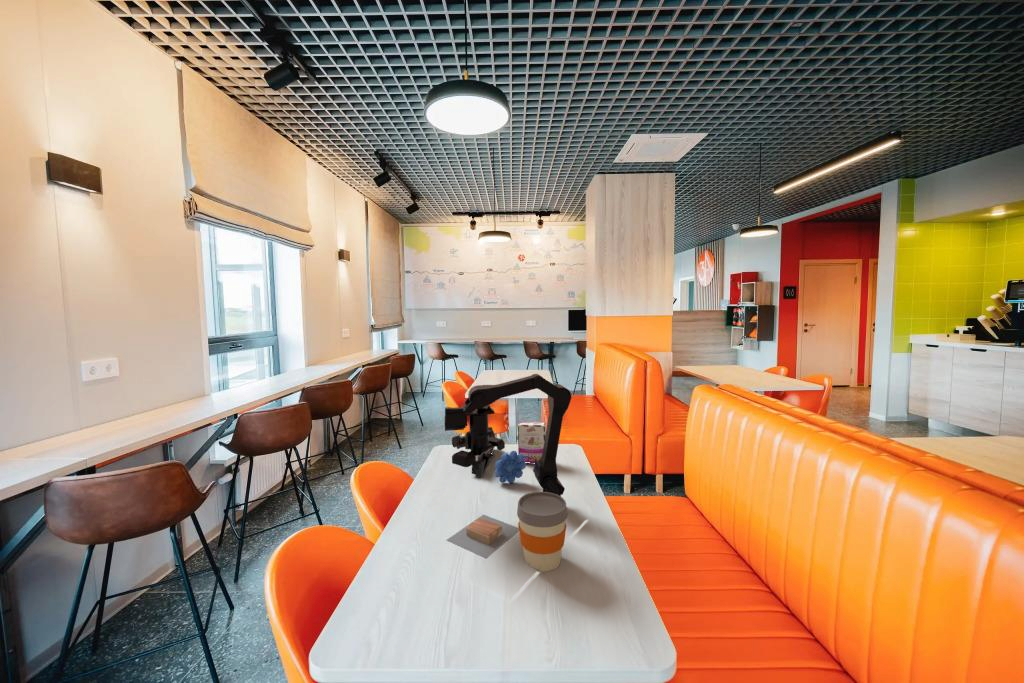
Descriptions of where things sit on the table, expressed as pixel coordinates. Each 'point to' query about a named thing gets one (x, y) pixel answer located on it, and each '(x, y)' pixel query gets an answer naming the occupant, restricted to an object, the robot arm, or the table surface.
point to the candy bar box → (531, 440)
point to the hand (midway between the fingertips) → (480, 478)
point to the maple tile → (484, 531)
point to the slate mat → (481, 547)
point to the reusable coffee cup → (542, 529)
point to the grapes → (510, 467)
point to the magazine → (490, 449)
